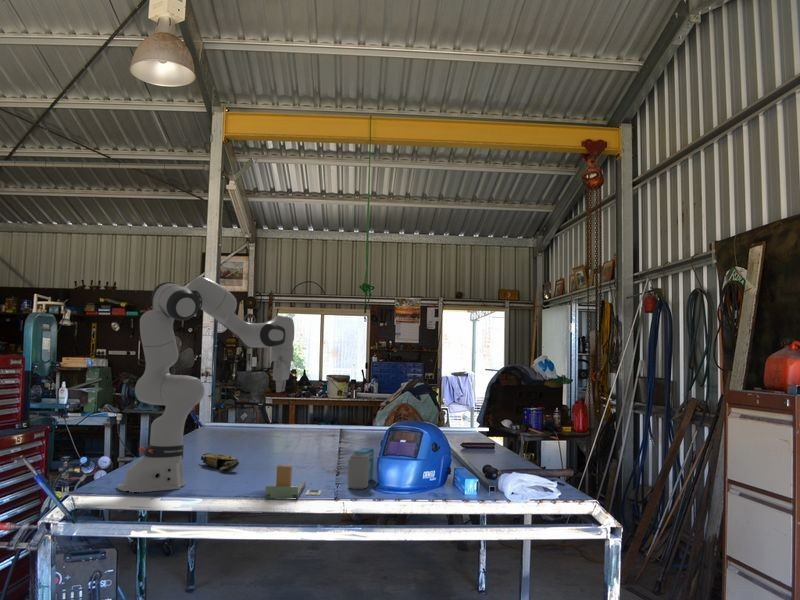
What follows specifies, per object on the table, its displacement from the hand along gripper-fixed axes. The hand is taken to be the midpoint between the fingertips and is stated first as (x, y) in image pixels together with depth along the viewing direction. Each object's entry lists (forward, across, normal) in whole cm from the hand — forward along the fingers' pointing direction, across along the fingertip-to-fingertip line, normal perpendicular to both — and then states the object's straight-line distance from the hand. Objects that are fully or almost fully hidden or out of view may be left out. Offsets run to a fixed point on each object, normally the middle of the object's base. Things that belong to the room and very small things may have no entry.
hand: (280, 391), depth 263 cm
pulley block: (+33, +18, +25) cm, 46 cm away
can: (+33, -19, -32) cm, 50 cm away
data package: (+33, -4, -34) cm, 48 cm away
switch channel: (+33, -29, -11) cm, 46 cm away
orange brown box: (+33, -36, -8) cm, 50 cm away
